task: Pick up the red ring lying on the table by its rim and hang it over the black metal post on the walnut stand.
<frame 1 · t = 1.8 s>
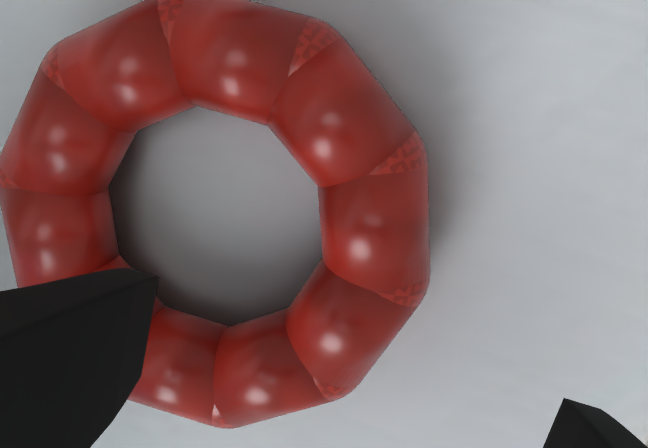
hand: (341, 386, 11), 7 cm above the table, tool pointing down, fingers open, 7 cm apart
ring: (211, 223, 17), point 1 cm above the table
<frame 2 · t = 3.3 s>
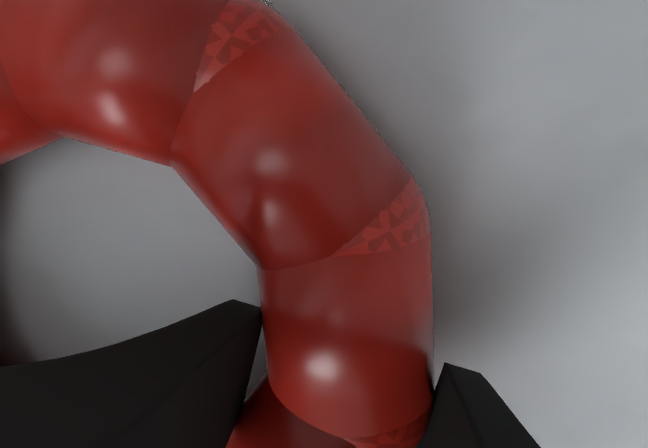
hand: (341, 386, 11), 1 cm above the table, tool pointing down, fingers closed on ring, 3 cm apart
ring: (100, 313, 11), point 1 cm above the table, touching gripper
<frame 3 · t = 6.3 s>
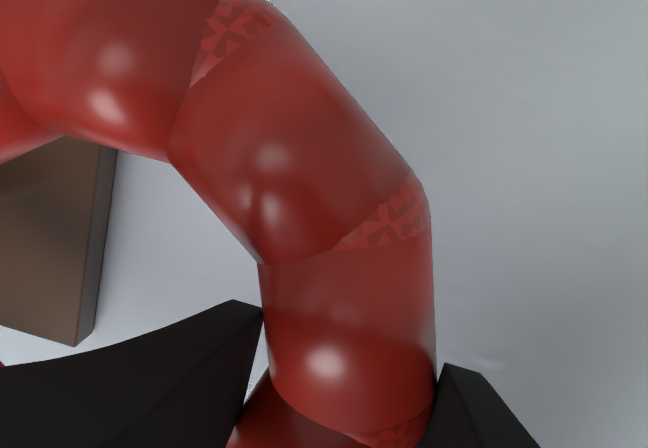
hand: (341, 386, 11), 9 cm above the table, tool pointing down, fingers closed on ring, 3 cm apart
ring: (102, 310, 11), point 9 cm above the table, touching gripper
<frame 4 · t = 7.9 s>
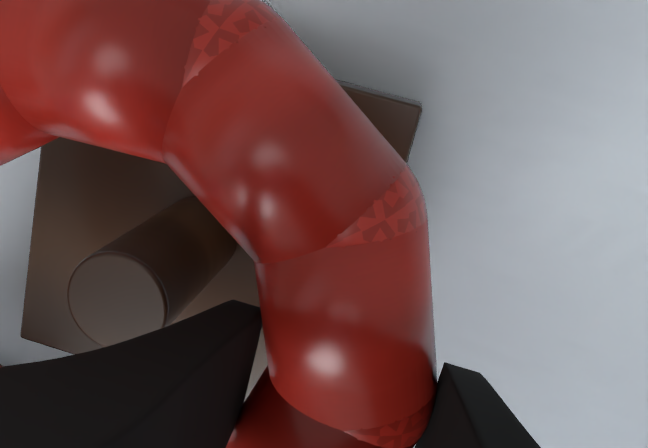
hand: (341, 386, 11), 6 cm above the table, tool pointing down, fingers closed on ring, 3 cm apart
ring: (100, 312, 11), point 6 cm above the table, touching gripper
post: (214, 222, 17), on the table
when the fingers open (3 cm above the table, at t = 9.4 s): ring stays where it is, resting on post.
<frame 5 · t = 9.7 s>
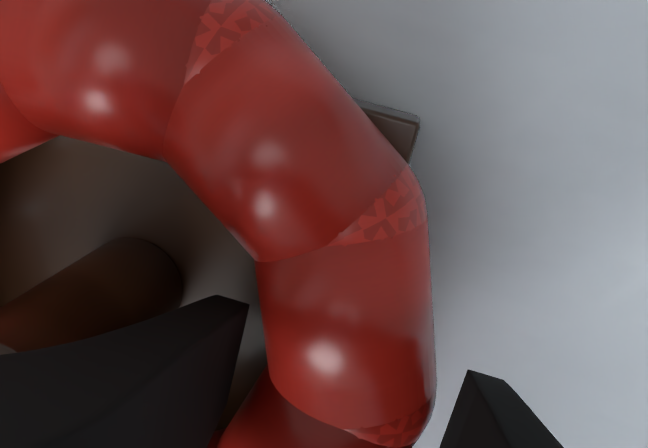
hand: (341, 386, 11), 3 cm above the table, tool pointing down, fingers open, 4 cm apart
ring: (99, 311, 11), point 3 cm above the table, touching post
post: (159, 264, 13), on the table
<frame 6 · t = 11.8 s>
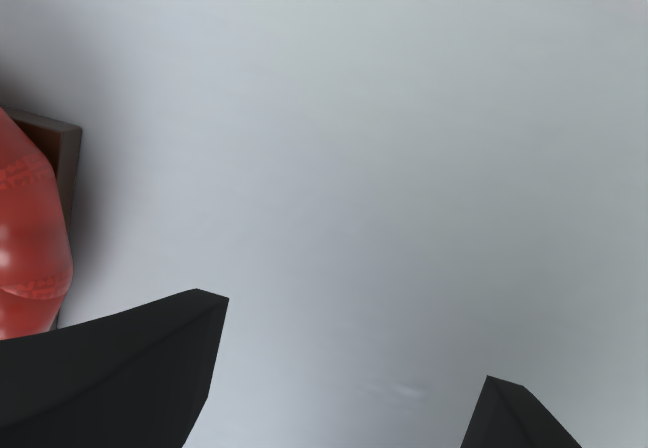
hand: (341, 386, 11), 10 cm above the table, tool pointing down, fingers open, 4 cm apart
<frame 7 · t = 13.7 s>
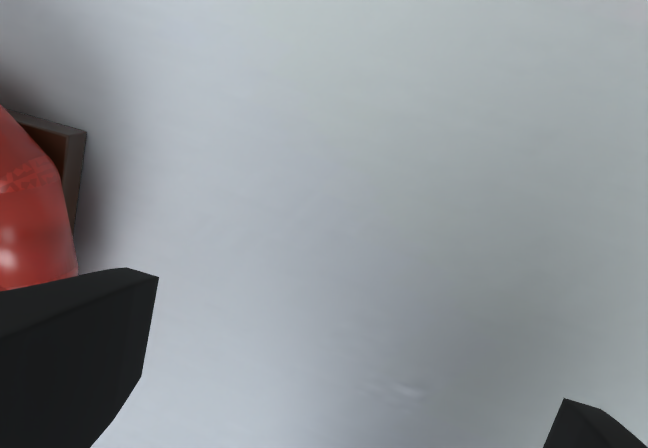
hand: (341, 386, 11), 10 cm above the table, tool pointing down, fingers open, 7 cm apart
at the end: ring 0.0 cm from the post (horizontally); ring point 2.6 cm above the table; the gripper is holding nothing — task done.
